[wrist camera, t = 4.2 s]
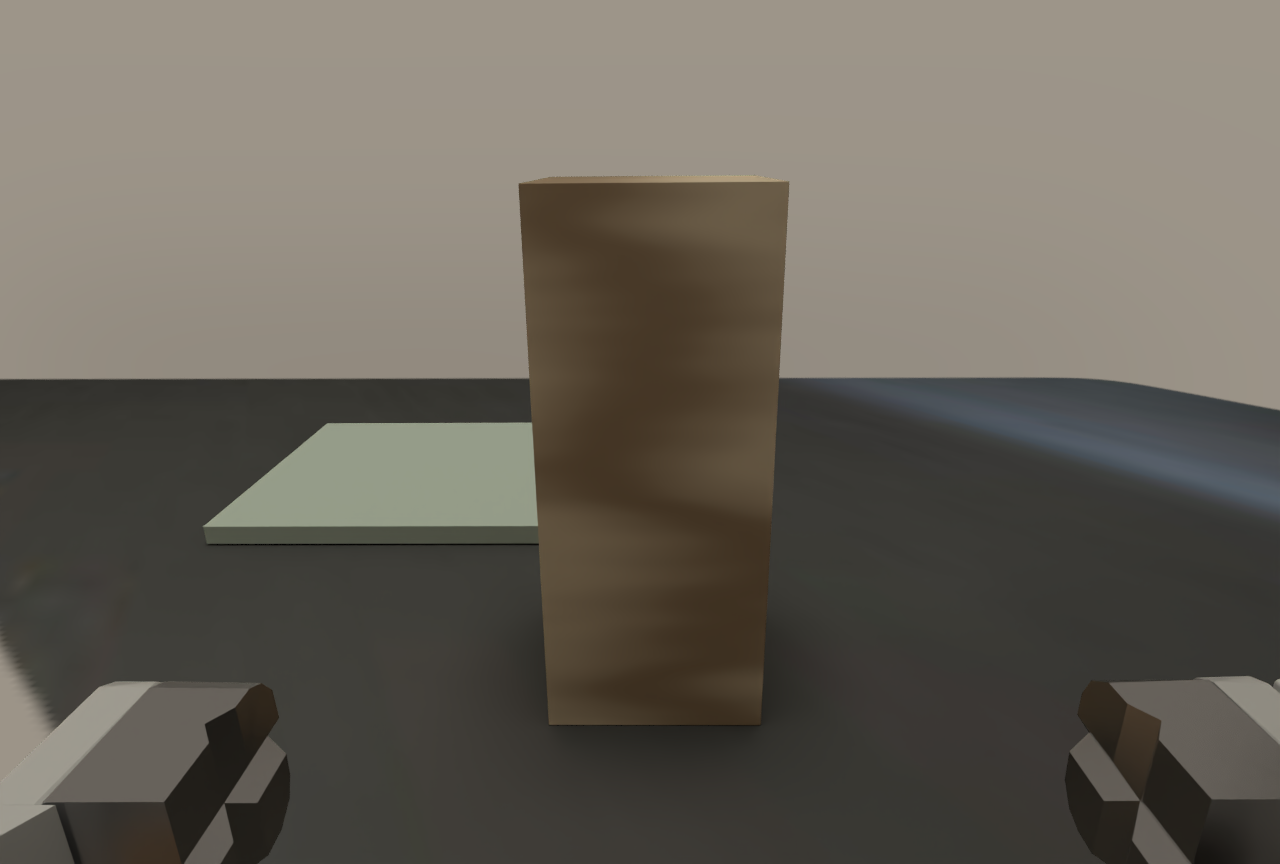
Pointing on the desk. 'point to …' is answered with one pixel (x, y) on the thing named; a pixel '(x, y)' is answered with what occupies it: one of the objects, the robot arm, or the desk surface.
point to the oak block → (654, 439)
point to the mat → (393, 488)
